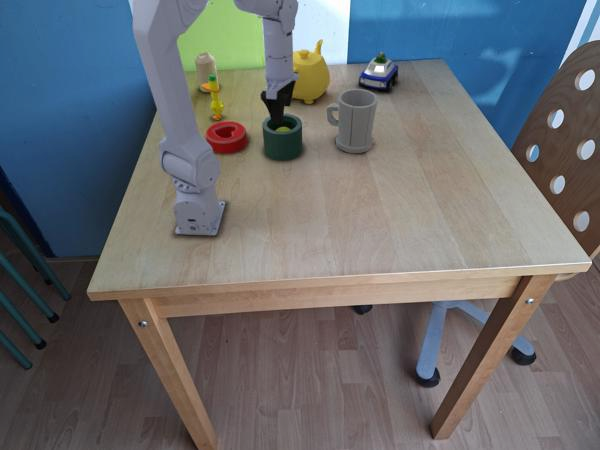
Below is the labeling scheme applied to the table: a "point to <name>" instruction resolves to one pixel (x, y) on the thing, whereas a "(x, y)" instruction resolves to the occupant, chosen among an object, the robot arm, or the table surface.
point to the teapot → (310, 74)
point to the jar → (283, 138)
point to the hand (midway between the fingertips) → (281, 114)
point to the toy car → (379, 73)
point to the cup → (354, 119)
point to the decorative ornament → (226, 129)
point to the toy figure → (214, 96)
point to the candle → (205, 68)
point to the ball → (283, 129)
